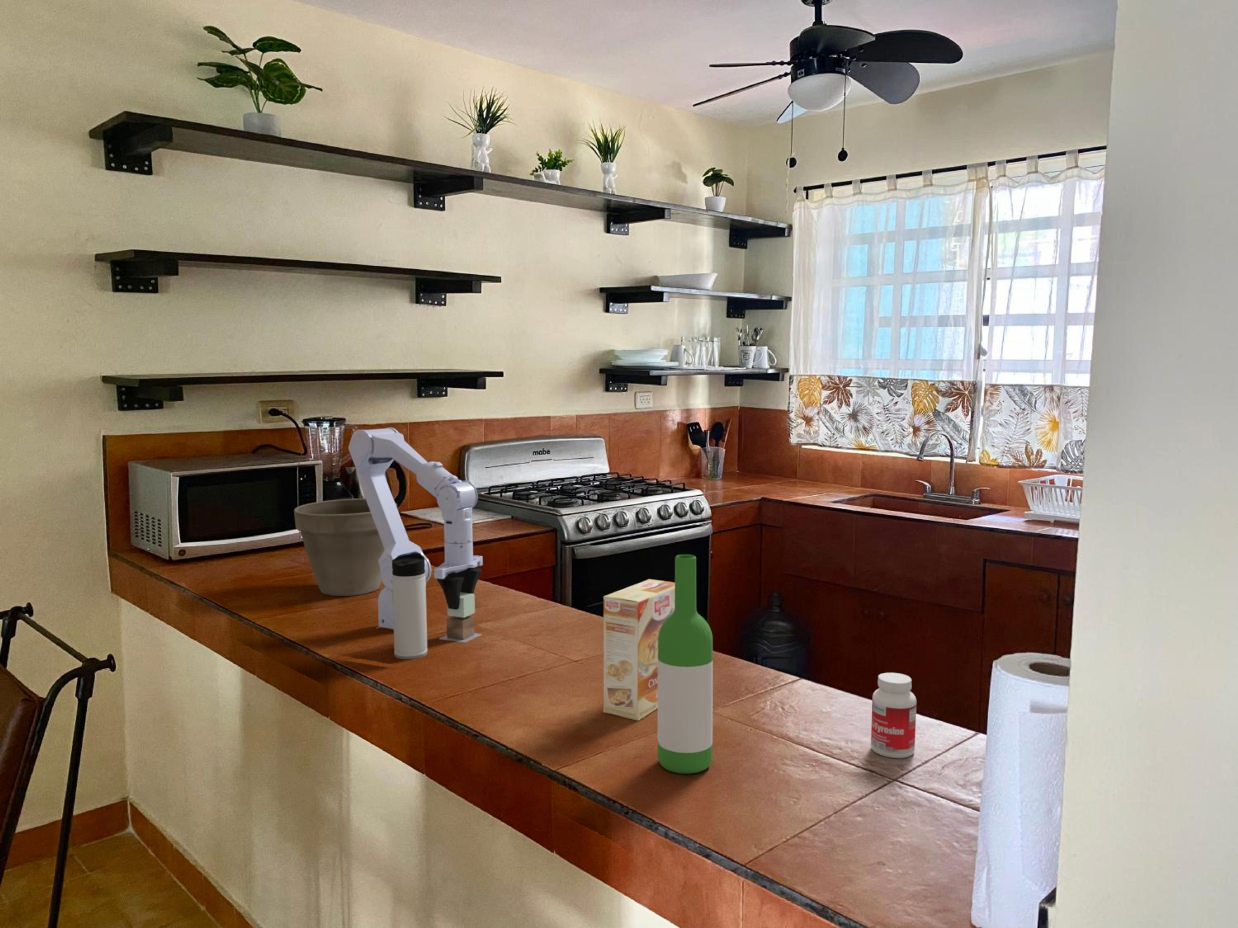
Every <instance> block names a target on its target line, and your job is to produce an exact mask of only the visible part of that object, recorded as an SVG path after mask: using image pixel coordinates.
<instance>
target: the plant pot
mask: <svg viewBox="0 0 1238 928" xmlns="http://www.w3.org/2000/svg"><path fill="white" fill-rule="evenodd" d="M395 505H396V507H397V508H398V503H396V502H395ZM293 513H294V514H293V516H294V523H295V529H296V530H297V531H299V533H300V536H301V538H302V541H303V545H304V547H305V551H306V554H307V557H308V560H309V563H310V566H311V568H312V572H313V575H314V578H315V580H316V583H317V586H318V588H319V591H320V592H321V593H322V594H323V595H327V596H332V597H333V596H334V597H349V596H351V597H352V596H360V595H365V594H369V593H372V592H375V591H377V590H378V589H379V588H380V587H381V583H382V579H381V569H380V565H379V562H378V560H379V558H380V557H381V555H382V554H383V552H384V550H385V549H384V546H383V543H382V541H381V538H380V535H379V533H378V530H377V528H376V525H375V522H374V520H373V517H372V514H371V512H370V509H369V506H368V504H367V501H366V498H343V499H332V500H331V499H330V500H324V501H323V500H322V501H316V502H311V503H306V504H302V505H299V506H297V507H295V508H294V510H293Z"/></svg>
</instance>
